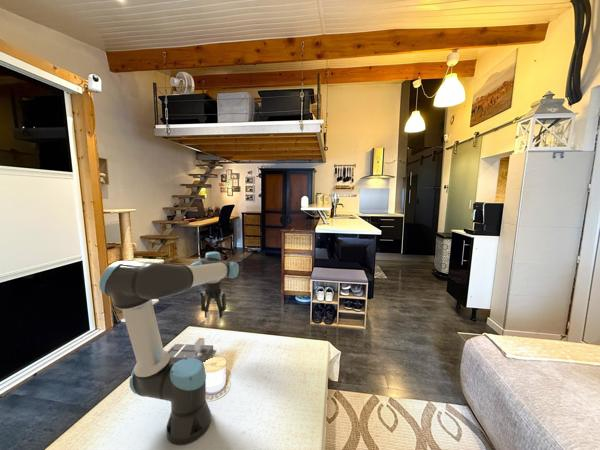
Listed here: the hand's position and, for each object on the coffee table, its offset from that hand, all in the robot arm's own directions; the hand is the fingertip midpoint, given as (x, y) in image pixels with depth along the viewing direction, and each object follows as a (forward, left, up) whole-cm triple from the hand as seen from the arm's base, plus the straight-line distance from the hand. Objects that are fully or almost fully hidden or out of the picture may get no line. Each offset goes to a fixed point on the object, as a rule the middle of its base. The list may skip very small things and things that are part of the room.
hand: (213, 323), depth 130 cm
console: (0, +14, -19) cm, 23 cm away
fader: (0, +8, -16) cm, 18 cm away
